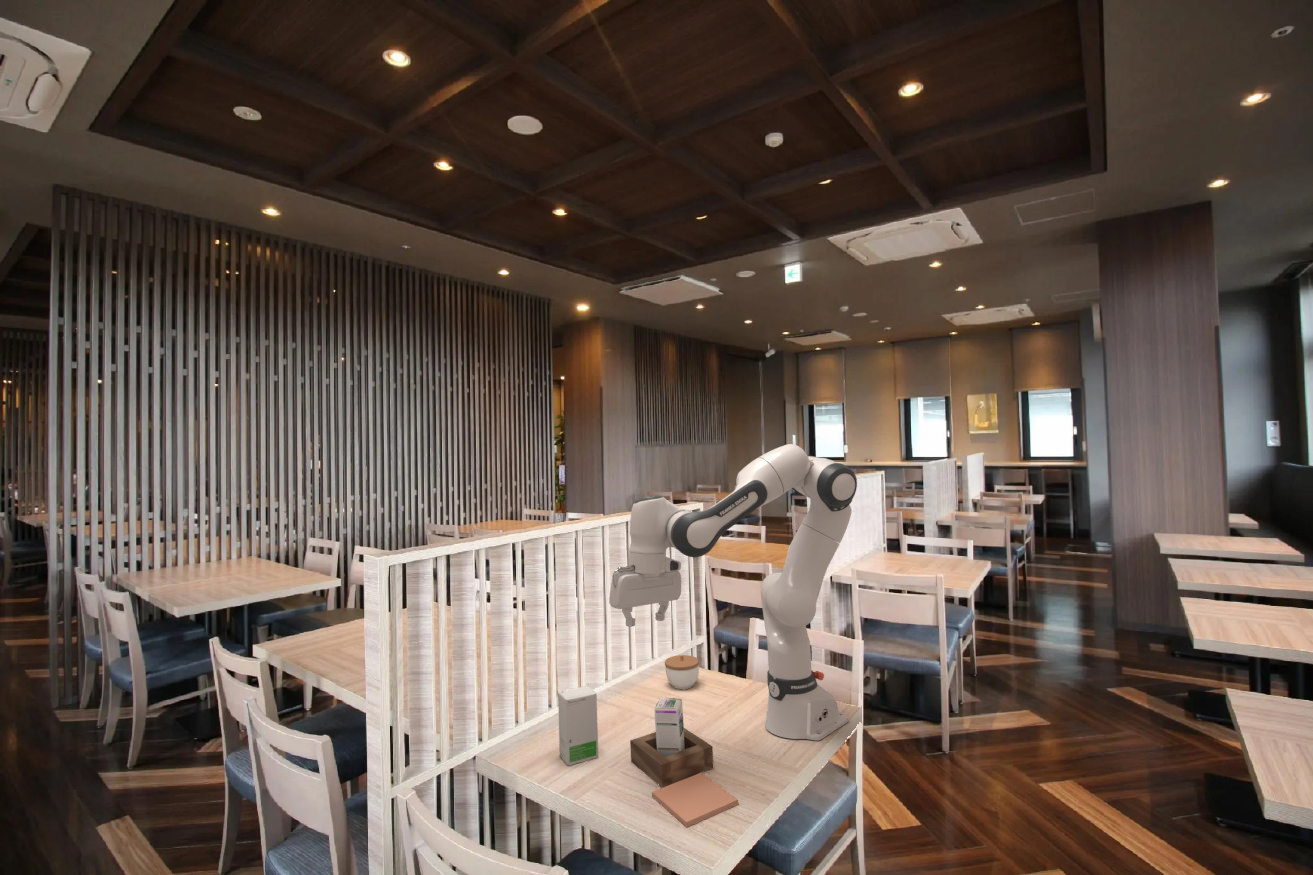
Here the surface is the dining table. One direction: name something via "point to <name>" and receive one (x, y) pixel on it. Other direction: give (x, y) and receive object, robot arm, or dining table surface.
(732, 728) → the dining table surface
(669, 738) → the syrup box
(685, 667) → the lidded jar
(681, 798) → the terracotta tile
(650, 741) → the holder sleeve
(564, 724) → the skincare box
